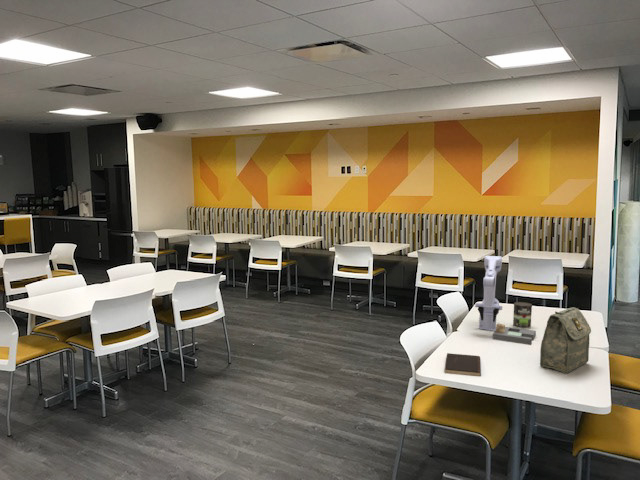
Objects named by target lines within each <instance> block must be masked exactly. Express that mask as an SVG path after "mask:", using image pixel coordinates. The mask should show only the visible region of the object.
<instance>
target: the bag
mask: <svg viewBox="0 0 640 480" xmlns="http://www.w3.org/2000/svg"><path fill="white" fill-rule="evenodd" d="M546 322H547V323H546V327H545V329H544V332H543V337H542V339H541V343H540V352H539V353H540V357H539V359H540V360H539V365H540V366H539V367H541V368H548V369H549V368H550V369H553V370H555V371H558V372H562V373H563V374H566V375H567V374H568V373H570V372H572V371H573V370H575V369H577V368H579V367H581V366H583V365H584V364H588V362H589V354H590V353H589V351H590V334H591V332H592V328H591V326H590V324H589V323H588V321H587V319H586V318H585V316H584V314H583V312H582V311H581V310H580V309H579V308H576V307H574V306H573V307H569V308H566V309H565V308H564V309H563V310H560V311H556V310H555V311H554V313H553V314H551V315H550V316H548V319H547V321H546Z"/></svg>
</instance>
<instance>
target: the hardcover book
mask: <svg viewBox="0 0 640 480" xmlns="http://www.w3.org/2000/svg"><path fill="white" fill-rule="evenodd" d="M481 365H482V363H481V356H479V355H473V354H472V355H471V354H461V353H460V354H459V353H448V352H447V353H446V358H445V367H444V370H445V373H447V374H448V373H449V374H457V375H468V376H479V377H482V367H481Z"/></svg>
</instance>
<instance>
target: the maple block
mask: <svg viewBox="0 0 640 480" xmlns="http://www.w3.org/2000/svg"><path fill="white" fill-rule="evenodd" d="M505 327H506V324H505V323H504V324H503V323H496V330H495V331H496V332H498V333H504V332H505Z"/></svg>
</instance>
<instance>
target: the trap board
mask: <svg viewBox="0 0 640 480" xmlns="http://www.w3.org/2000/svg"><path fill="white" fill-rule="evenodd" d="M536 336H537V331H536V330H533V329H519V328H515V327H510V326H505V332H504V333H498V332H496V330H495V331H493V333H492V340H496V341H503V342H504V341H505V342H511V343H518V344H525V345H529V346H531V345H532V343H533V342H532V341H534V340H535V338H536Z"/></svg>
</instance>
